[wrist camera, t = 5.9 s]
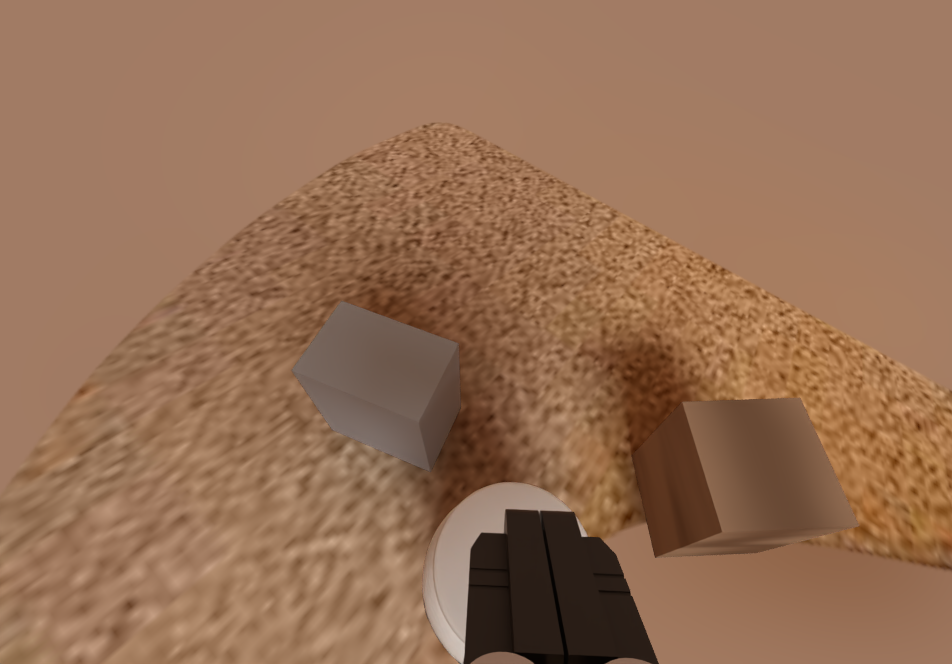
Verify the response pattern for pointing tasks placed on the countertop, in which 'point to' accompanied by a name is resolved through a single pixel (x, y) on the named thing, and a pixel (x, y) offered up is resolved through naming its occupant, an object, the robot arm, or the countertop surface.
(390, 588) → the countertop surface
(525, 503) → the pill bottle
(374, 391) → the slate block
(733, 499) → the walnut block
